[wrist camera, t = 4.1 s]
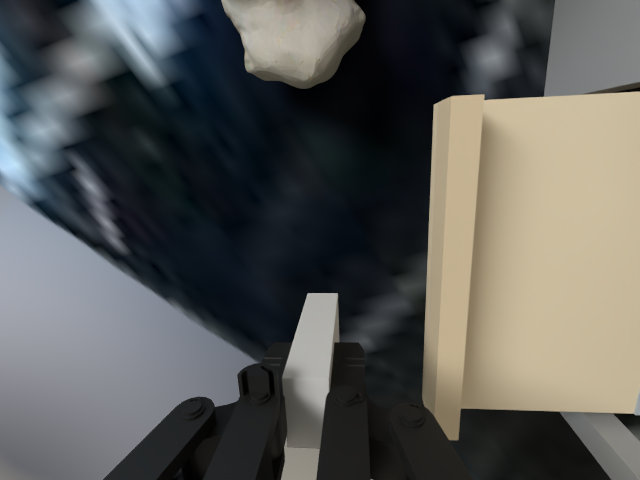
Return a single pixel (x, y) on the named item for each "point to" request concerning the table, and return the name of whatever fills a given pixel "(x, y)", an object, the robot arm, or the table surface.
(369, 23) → the table surface
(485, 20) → the table surface
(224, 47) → the table surface
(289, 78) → the ceramic sculpture
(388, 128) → the table surface
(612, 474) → the carton
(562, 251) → the lid
